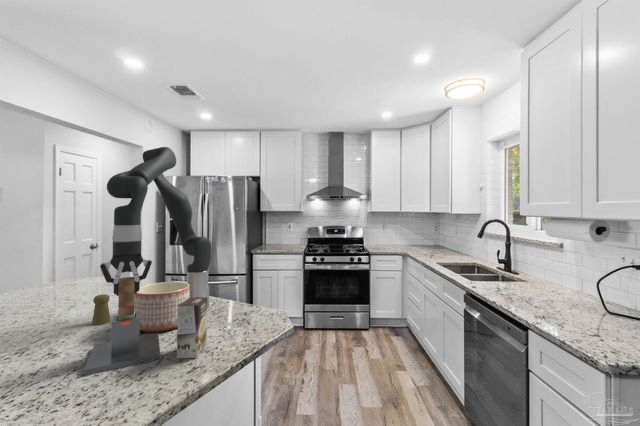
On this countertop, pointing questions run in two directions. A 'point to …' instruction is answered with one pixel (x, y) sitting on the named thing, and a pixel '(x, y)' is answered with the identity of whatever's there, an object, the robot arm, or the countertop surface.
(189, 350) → the coffee box
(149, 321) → the planter
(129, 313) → the stand post
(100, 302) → the cork
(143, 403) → the countertop surface
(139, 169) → the robot arm
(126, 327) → the stand base
